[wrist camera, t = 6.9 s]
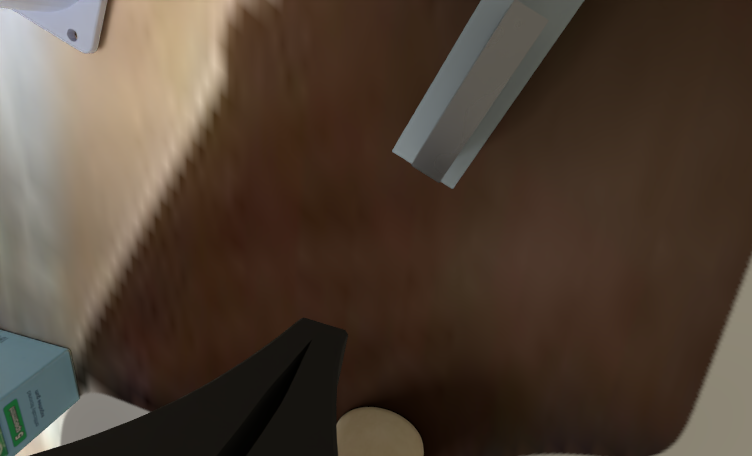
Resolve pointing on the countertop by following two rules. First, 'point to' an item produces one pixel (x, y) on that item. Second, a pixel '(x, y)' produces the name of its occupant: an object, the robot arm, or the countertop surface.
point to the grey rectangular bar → (480, 89)
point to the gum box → (32, 389)
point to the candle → (377, 434)
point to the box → (552, 3)
